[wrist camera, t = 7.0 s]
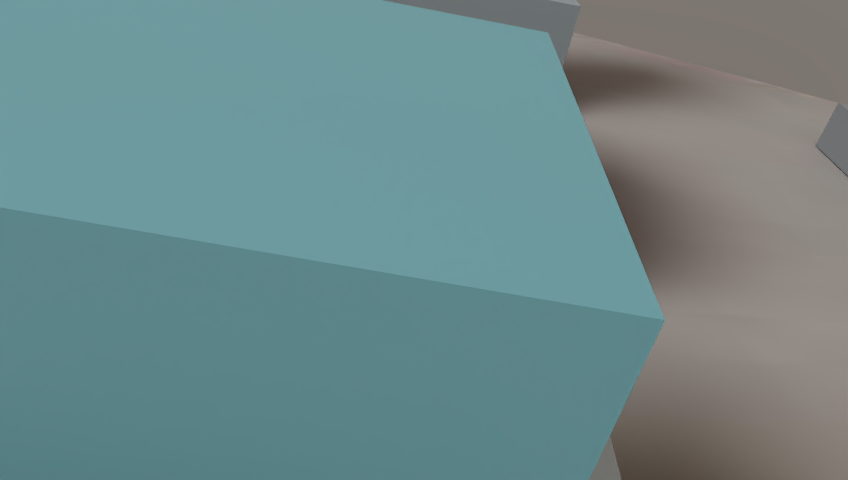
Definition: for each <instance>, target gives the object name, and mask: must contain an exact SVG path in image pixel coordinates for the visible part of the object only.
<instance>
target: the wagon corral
mask: <svg viewBox="0 0 848 480" xmlns="http://www.w3.org/2000/svg"><path fill="white" fill-rule="evenodd" d="M816 146H817V147H818V148H819V149H820V150H821V151H822V152H823V153H824V154H825V155H826V156H827V157H828V158H829V159H830V160H831V161H832V162H834V163H835V164H836V165H837V166H838V167H839V168H840V169H841V170H842V171H843V172H844V173H845V174H846V175H847V176H848V104H843V103H838V105H837V107H836V108H835V110H834V112H833V114H832V116H831V118H830V120H829V122H828V123H827V125H826V127H825V129H824V131H823V133H822V135H821V137H820V138H819V140H818V142H817V144H816Z"/></svg>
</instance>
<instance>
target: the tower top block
mask: <svg viewBox="0 0 848 480" xmlns="http://www.w3.org/2000/svg"><path fill="white" fill-rule="evenodd" d="M383 1H389V2H394V3H399V4H404V5H409V6H414V7H419V8H425V9H430V10H435V11H440V12H445V13H450V14H455V15H460V16H466V17H471V18H476V19H481V20H486V21H491V22H496V23H502V24H507V25H512V26H517V27H522V28H527V29H532V30H538V31H543V32H548V33H549V36H550V38H551V41H552V43H553V46H554V48H555V51H556V53H557V56H558V58H559V60H560V63H561V65H562V67H563V64H564V61H565V57H566V54H567V51H568V48H569V44H570V41H571V38H572V34H573V31H574V27H575V24H576V21H577V18H578V14H579V11H580V8H581V6H580V5H579V3H578V2H577V1H576V0H383Z"/></svg>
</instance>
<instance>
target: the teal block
mask: <svg viewBox="0 0 848 480" xmlns="http://www.w3.org/2000/svg"><path fill="white" fill-rule="evenodd" d="M664 321H665V319H664V316H663V314H662V312H661V309H660V307H659V304H658V302H657V299H656V297H655V294H654V292H653V289H652V287H651V284H650V282H649V280H648V277H647V275H646V272H645V270H644V267H643V265H642V262H641V260H640V257H639V255H638V252H637V250H636V248H635V245H634V243H633V240H632V238H631V235H630V233H629V230H628V228H627V225H626V223H625V220H624V218H623V216H622V213H621V211H620V208H619V206H618V203H617V201H616V198H615V196H614V193H613V191H612V188H611V186H610V184H609V181H608V179H607V176H606V174H605V171H604V169H603V166H602V164H601V161H600V159H599V156H598V154H597V152H596V149H595V147H594V144H593V142H592V139H591V137H590V134H589V132H588V129H587V127H586V124H585V122H584V120H583V117H582V115H581V112H580V110H579V107H578V105H577V102H576V100H575V97H574V95H573V92H572V90H571V88H570V85H569V83H568V80H567V78H566V75H565V73H564V70H563V68H562V65H561V63H560V60H559V58H558V56H557V53H556V51H555V48H554V46H553V43H552V41H551V38H550V36H549V33H548V32H543V31H538V30H532V29H527V28H522V27H517V26H512V25H507V24H502V23H496V22H491V21H486V20H481V19H476V18H471V17H466V16H460V15H455V14H450V13H445V12H440V11H435V10H430V9H425V8H419V7H414V6H409V5H404V4H399V3H394V2H389V1H383V0H0V480H589V479H590V477H591V474H592V472H593V470H594V468H595V466H596V464H597V462H598V460H599V458H600V455H601V453H602V451H603V449H604V447H605V445H606V443H607V441H608V439H609V437H610V434H611V432H612V430H613V428H614V426H615V424H616V422H617V420H618V418H619V416H620V413H621V411H622V409H623V407H624V405H625V403H626V401H627V399H628V397H629V394H630V392H631V390H632V388H633V386H634V384H635V382H636V380H637V378H638V376H639V373H640V371H641V369H642V367H643V365H644V363H645V361H646V359H647V357H648V355H649V352H650V350H651V348H652V346H653V344H654V342H655V340H656V338H657V336H658V333H659V331H660V329H661V327H662V325H663V323H664Z"/></svg>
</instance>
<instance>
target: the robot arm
mask: <svg viewBox="0 0 848 480" xmlns="http://www.w3.org/2000/svg"><path fill="white" fill-rule="evenodd" d="M589 480H621V476H620V472H619V468H618V464H617V460H616V456H615V452H614V448H613V444H612V440H611V436H610V437H609V439H608V441H607V443H606V445H605V447H604V449H603V451H602V453H601V455H600V458H599V460H598V462H597V464H596V466H595V468H594V470H593V472H592V474H591V477H590V479H589Z"/></svg>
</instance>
